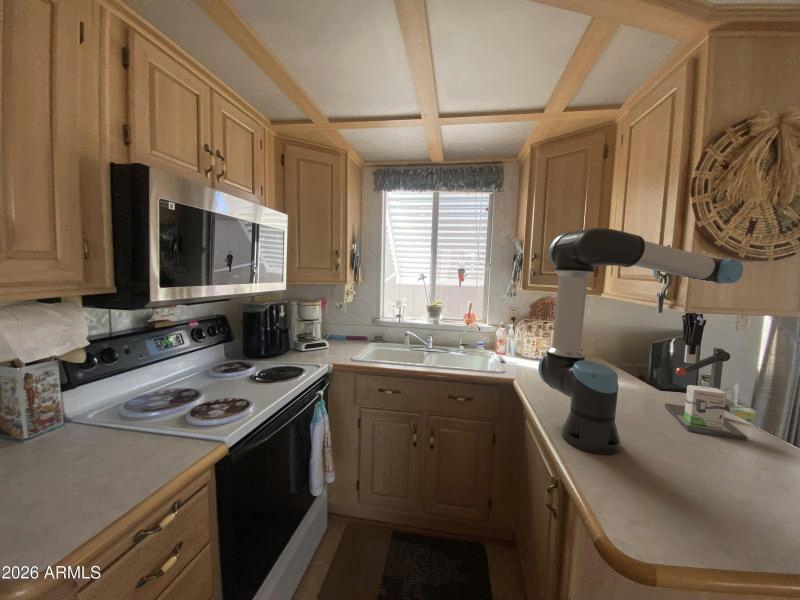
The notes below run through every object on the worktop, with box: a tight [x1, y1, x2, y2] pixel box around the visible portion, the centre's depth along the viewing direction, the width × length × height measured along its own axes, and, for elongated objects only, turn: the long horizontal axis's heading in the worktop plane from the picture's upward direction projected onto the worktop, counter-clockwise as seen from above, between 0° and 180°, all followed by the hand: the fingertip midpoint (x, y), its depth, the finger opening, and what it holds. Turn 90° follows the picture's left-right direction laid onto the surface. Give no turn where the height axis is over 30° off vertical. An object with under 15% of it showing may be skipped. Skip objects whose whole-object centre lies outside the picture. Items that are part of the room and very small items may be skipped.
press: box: [664, 347, 748, 442], centre depth 111 cm, size 21×14×25 cm
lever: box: [674, 350, 731, 377], centre depth 116 cm, size 3×17×4 cm
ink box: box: [684, 384, 728, 428], centre depth 106 cm, size 9×5×12 cm, turn 69°
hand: (689, 362), depth 117 cm, fingers closed
